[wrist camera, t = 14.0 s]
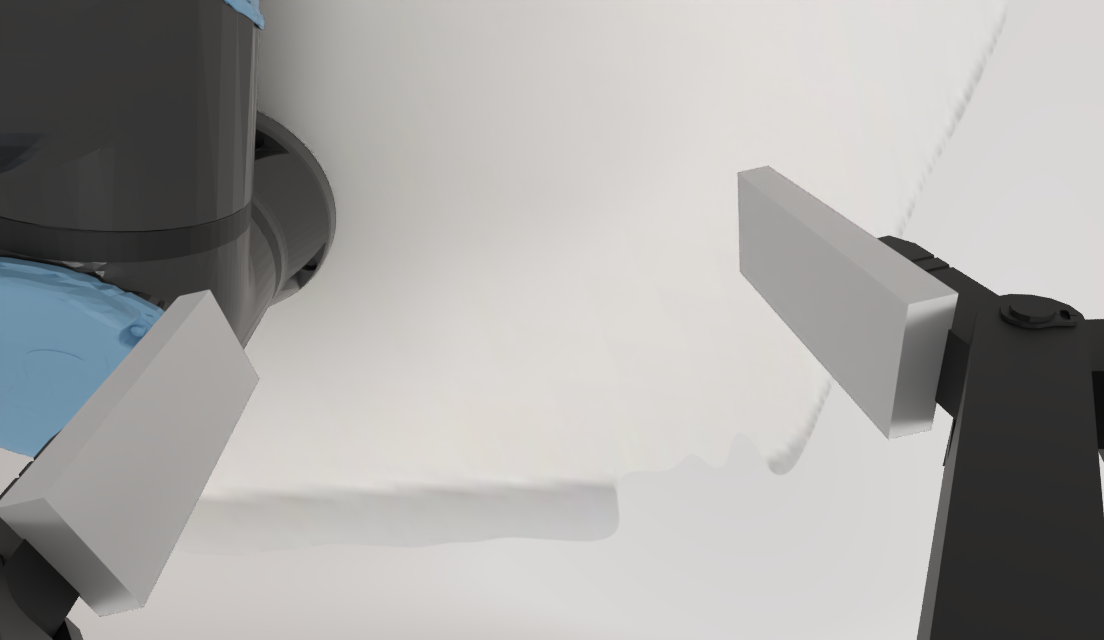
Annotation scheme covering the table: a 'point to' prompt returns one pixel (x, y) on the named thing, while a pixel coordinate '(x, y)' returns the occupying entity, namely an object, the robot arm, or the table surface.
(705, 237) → the table surface
